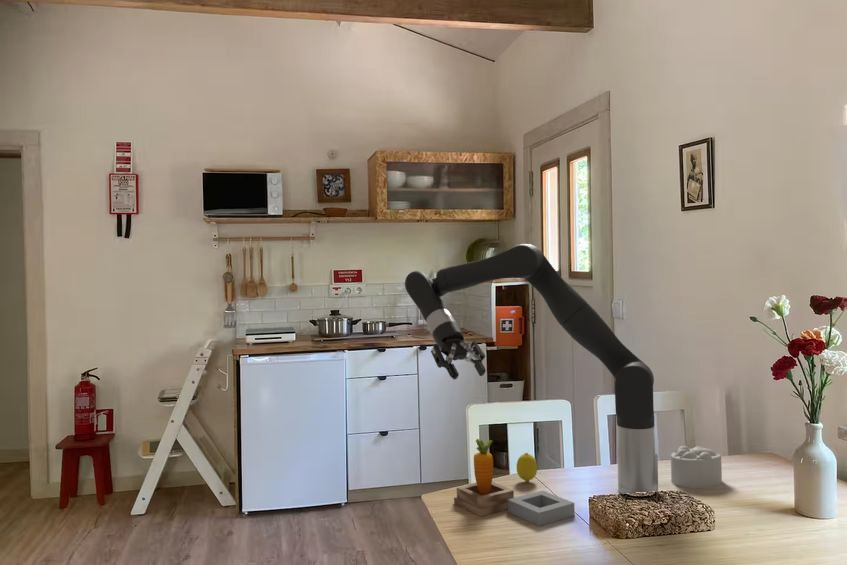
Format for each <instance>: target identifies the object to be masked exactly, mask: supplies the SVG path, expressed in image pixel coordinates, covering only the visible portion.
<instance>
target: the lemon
mask: <svg viewBox="0 0 847 565" xmlns="http://www.w3.org/2000/svg"><path fill="white" fill-rule="evenodd" d="M516 472H517V475H518V477H519V478H520V479H521V480H524V482H525V483H528V482H529V481H531V480H533V479H534V478H535V477H536V475H537V472H538V465H537V461H536V458H535V457H534V456H533V455H532V454H529V453H528V452H525V453H524V454H521V455H520V456H519V457H518V459H517V462H516Z"/></svg>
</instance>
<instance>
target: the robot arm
mask: <svg viewBox="0 0 847 565" xmlns="http://www.w3.org/2000/svg"><path fill="white" fill-rule="evenodd" d="M503 279H525V280H526V281H527V282H528V283H529V284H530V285H532V287H533V288H534V289H535V290H536V291H537V292H538V293H539V294H540V295H541V296H542V298H543V300H544V302H545V303H546V305H547V307H548V308H549V310H550V312H551V314H552V315H553V317H554V318H555V319H556V321H557V322H558V324H559V325H560V326H561V327H562V329H563V330H565V332H566V333H567V334H568V335H569V336H570V338H572V339H573V340H574V341H575V342H577V343H578V344H579V345H580V346H582V348H583V349H585V350H587V351H588V352H589V353H591V354H592V355H594V356H595V357H596V358H597V359H598V361H601V363H602V364H603V365H604V366H605V368H607V370H608V371H609V373H610V374H611V375H612V376H613V378H614V399H615V400H614V401H615V402H614V404H615V408H614V409H615V416H616V437H617V439H616V441H617V442H616V444H617V449H616V450H617V486H618V487H617V488H618V491H617V492H619V493H620V494H622V495H624V494H626V493H636V492H649V491H655V492H656V493H657V492H659V468H658V466H659V465H658V464H659V463H658V460H659V459H658V457H659V456H658V454H657V453H656V440H655V435H656V434H655V410H654V409H655V408H654V385H655V384H654V382H655V379H654V374H653V372H652V371H653V370H651V368H650V367H649V366H648V365H647V364H646V363H644V361H642V360H641V359H640V358H639V357H638V356H637V355H635V354H634V352H632V351H631V350H630V349H629V348H628V347H626V345H625V344H623V342H621V340H619V338H618V337H617V336H616V334H615V333H614V331H613V330H612V328H610V326H609V325H608V324H607V323H606V322H605V321H604V319H603V318H602V317H601V316H600V315H599V313H598V312H597V311H596V310H595V309H594V308H593V306H591V305H590V303H588V302H587V300H586V299H585V298H583V297H582V295H580V294H579V292H578V291H576V290H575V289H574V288H573V287H572V286H571V285H570V284H569V283H568V282H567V281H565V280H564V279H563V278H562V276H561V275H560V274H559V273H558V271H556V269H555V267H553V265H552V264H551V262H550V261H549V260H548V258H547V257H546V256H545V254H544V253H543V252H542V251H541V250H540V249H539V248H538V246H536V245H533V244H531V243H520V244H517V245H514V246H513V247H511V248H509V249H507V250H504V251H502V252H499V253H498V254H496V255H492V256H490V257H487V258H486V257H485V258H482V259H479V260H475V261H470V262H465V263H460V264H456V265H452V266H448V267H444V268H441V269H439V270H437V272H436V277H434V278H430V277H429V276H427V275H426V273H424V272H422V271H419V270H415V271H411V272H409V274H408V275H407V276H406V277H405V281H404V286H405V287H404V288H405V290H406V292H407V294H408V296H409V297H410V298H411V300H412V302H414V304H415V305H416V306H417V308H418V310H419V311H420V313H421V315H422V317H423V319H424V321H425V323H426V326H427V328H428V331H429V332H430V334H431V337H433V340H434V342H435V344H434V345H433V347H432V349H431V350H430V353H431V356H432V357H433V360H434V362H435V364H436V366H437V368H439V369H441V368H444V369H445V370H446V371H447V373H448V376H450V378H452V380H457V379H458V378H459V372H458V370H457V368H456V365H455V364H454V363H452V362H454V361H457V360H458V361H459V360H460V361H463V360H464V361H466V362H467V363H470V364H472V365H473V366H474V368H475V370H476V372H477V374H478V375H479V377H483V376H484V375H485V374H486V367H485V365H484V364H483V361H484V359H486V355H485V354H484V352H483V350H482V348H481V347H480V345H479V344H478V342H477V341H476V340H473V341H472V342H468V343H467V342H466V340H465V338H464V334H463V332H462V331H461V328H460V327H459V325H458V323H457V321H456V319H455V318H454V316H453V315H452V313H451V312H450V310H449V309H448V308H447V306H446V304H445V302H444V301H443V299H442V298H441V297H443V296H445V295H447V294H448V293H452V292H456V291H457V292H458V291H461V290H466V289H469V288H473V287H475V286H479V285H480V284H483V283H487V282H490V281H495V280H497V281H498V280H503ZM468 354H469V355H468ZM444 355H445V357H444ZM467 355H468V356H467Z"/></svg>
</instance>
